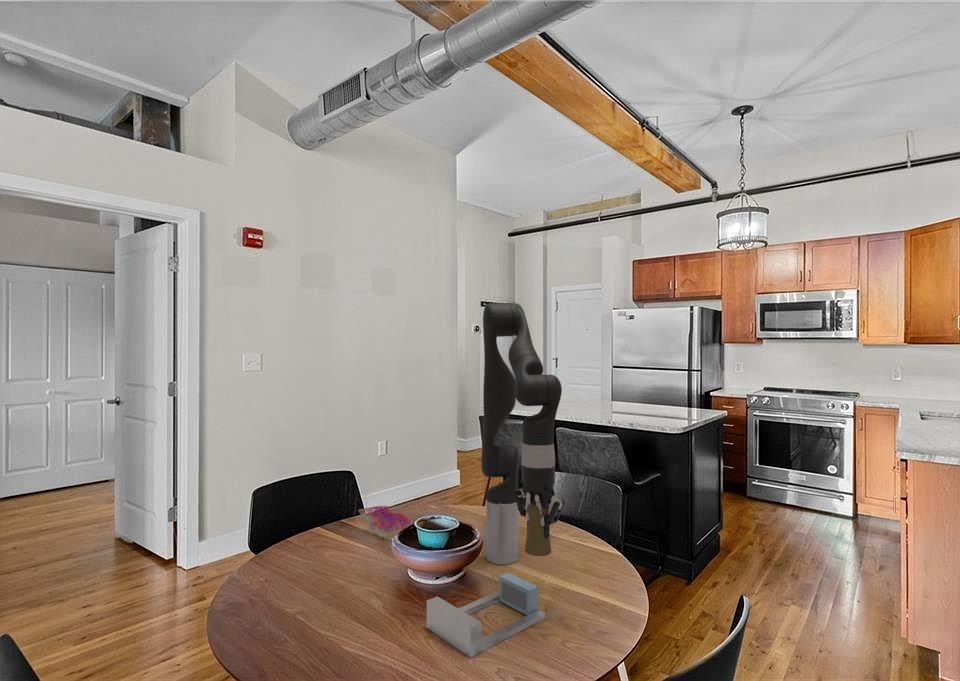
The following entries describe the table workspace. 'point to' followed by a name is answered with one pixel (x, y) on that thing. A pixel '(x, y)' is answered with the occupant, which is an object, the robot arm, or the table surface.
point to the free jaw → (518, 593)
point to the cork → (536, 532)
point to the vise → (471, 624)
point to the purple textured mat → (383, 520)
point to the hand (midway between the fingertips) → (538, 538)
